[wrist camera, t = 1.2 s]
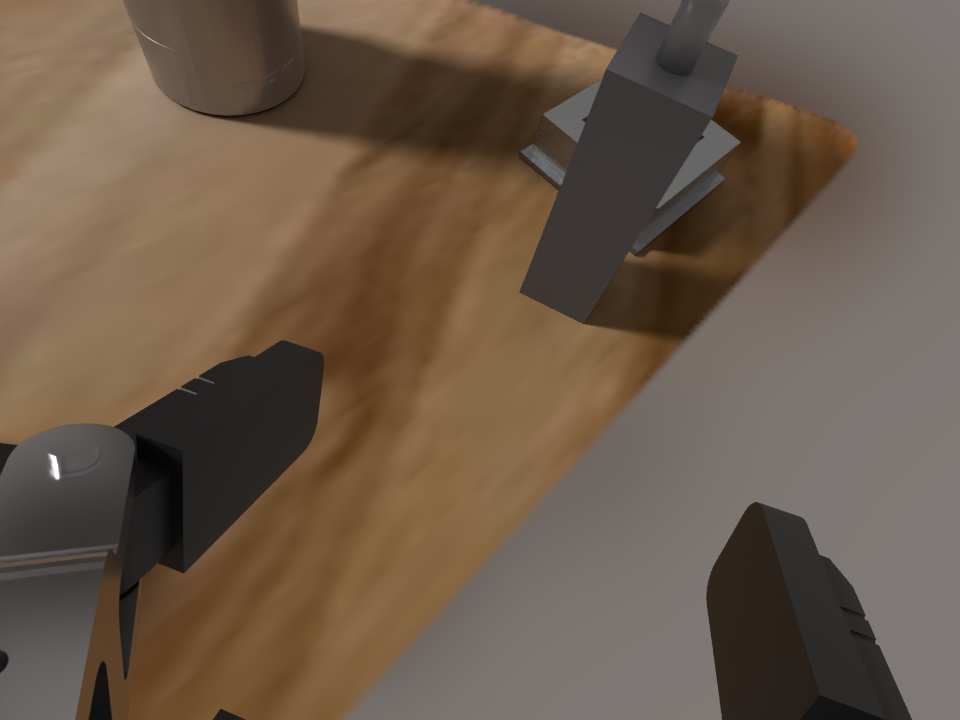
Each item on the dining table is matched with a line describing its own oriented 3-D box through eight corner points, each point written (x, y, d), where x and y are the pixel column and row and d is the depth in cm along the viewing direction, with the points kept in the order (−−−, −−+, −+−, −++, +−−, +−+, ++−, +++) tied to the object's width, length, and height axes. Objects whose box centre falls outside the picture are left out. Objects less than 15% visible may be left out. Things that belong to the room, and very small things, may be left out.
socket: (519, 156, 37) (531, 112, 34) (613, 97, 41) (631, 53, 38) (635, 255, 34) (659, 218, 32) (722, 182, 39) (751, 143, 36)
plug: (519, 292, 32) (633, -1, 18) (545, 244, 34) (668, -57, 19) (583, 323, 32) (753, 52, 17) (606, 273, 34) (777, -10, 19)
